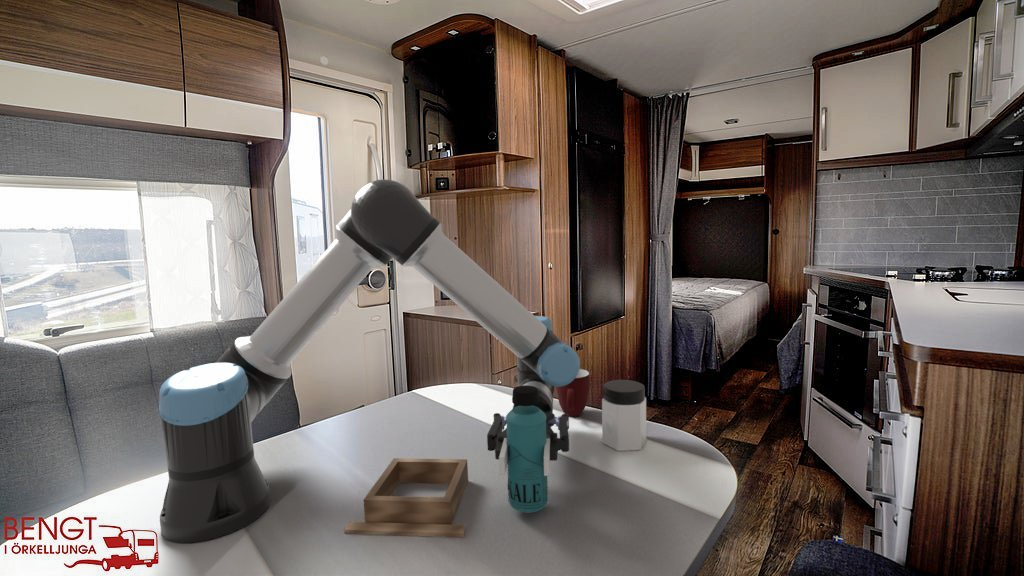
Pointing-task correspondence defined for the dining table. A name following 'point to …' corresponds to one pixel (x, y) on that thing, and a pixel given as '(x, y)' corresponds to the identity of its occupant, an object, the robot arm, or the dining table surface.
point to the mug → (574, 394)
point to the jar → (624, 415)
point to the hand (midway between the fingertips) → (524, 466)
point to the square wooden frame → (414, 500)
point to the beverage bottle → (526, 452)
